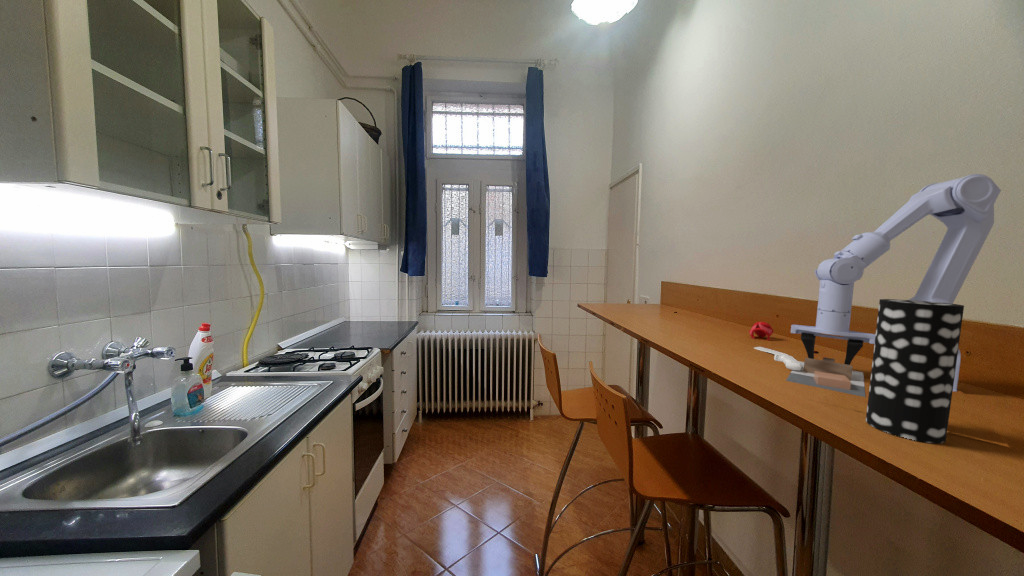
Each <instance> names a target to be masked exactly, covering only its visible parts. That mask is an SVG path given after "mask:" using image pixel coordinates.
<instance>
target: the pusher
mask: <svg viewBox="0 0 1024 576" xmlns="http://www.w3.org/2000/svg"><path fill="white" fill-rule="evenodd" d="M803 362H804V371H803V372H807V373H813V374H814V371H818V372H825V373H831V374H838V375H845V376H846V377H847V378H848V379H849V380H850V381H851V377H852V370H853V364H852V365H851V364H850V365H847V364H844V363H840V362H836V359H835V358H830V357H825V356H824V357H823V358H822V359H816V358H814V359H811V358H808V357H805V358H804V360H803Z"/></svg>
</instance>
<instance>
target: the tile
mask: <svg viewBox="0 0 1024 576" xmlns="http://www.w3.org/2000/svg"><path fill="white" fill-rule="evenodd" d="M814 380H815V381H816V383H817V384H818V385H824V386H830V387H836V388H842V389H848V390H850V386H851V382H850V380H849V379H848V378H847V377H846V376H845V375H838V374H831V373H825V372H818V371H814Z"/></svg>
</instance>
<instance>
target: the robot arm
mask: <svg viewBox="0 0 1024 576" xmlns="http://www.w3.org/2000/svg"><path fill="white" fill-rule="evenodd" d="M1001 191H1002V190H1001V189H1000V187H999V186H998V185H997V184H996V183H995V181H994V180H993V179H992V178H991V177H989V176H988V175H985V174H982V173H973V174H968V175H966V176H963V177H959V178H955V179H950V180H945V181H941V182H935V183H934V182H933V183H930V184H927V185H925V186H923V187H922V188H921V189H920V190H919V192H916V193H914V194H913V195H911V196H910V198H909V200H908V201H907V202H906V203H905V204H904V205H902V206H901V207H900V208H899V209H898V210H897V211H896V212H895V213H894V214H892V215H891V216H890V217H889V218H888V219H887V220H886V221H884V222H883V223H882V224H880V226H879V227H877V228H876V230H874V231H868V232H862V233H861V234H856V235H854V236H853V237H852V238H851V240H852V241H851V242H850V243H849V244H848V245H846V246H845V247H844V248H843V249H841V250H839V251H838V250H837V251H836V252H835V253H833V258H829V259H828V258H827V259H825V260H823V261H822V262H820V264H818V265H817V266H818V268H817V269H814V275H815V277H816V279H818V281H819V287H818V288H819V290H818V299H817V301H818V302H817V308H816V309H817V310H816V319H815V326H813V325H812V326H811V325H800V324H791V325H790V327H791V328H790V333H791V334H795V335H796V334H799V335H800V340H801V342H802V344H803V346H804V348H805V351H806V354H807V358H811V359H815V344H816V337H822V338H829V339H836V340H845V341H847V342H846V343H847V344H846V352H845V358H844V363H843V364H847V365H851V363H852V361H853V360H854V358H855V357H856V355H857V354H858V353H859V351H860V350H861V349H862V348H863V347H864V343H868V344H870V345H871V344H872V345H874V344H875V336H876V333H868V332H861V331H854V330H850V325H851V315H852V308H853V307H852V306H853V296H854V288H855V283H856V282H857V281H859V280H861V279H862V277H863V275H864V270H865V269H866V268H868V266H870V265H871V264H873V263H874V262H876V260H878V259H879V258H880V257H882V256H883V255H884V254H885V253H887V252H888V251H889V250H890V249H891V242H892V240H894V239H896V238H897V237H898V236H899V235H901V234H902V233H903V232H905V231H906V230H908V229H910V228H912V226H914V225H915V224H916V223H918V222H919V221H921V220H923V219H924V218H925V217H926V216H930V215H931V216H932V218H934V219H937V220H938V221H940V222H941V223H943V224H944V225H945V227H946V228H947V230H946V231H945V234H944V236H943V238H942V240H941V242H940V244H939V246H938V248H937V251H936V252H935V255H934V257H933V258H932V260H931V262H930V264H929V266H928V268H927V270H926V273H925V275H924V276H923V279H922V281H920V282H921V283H920V285H919V286H918V288H917V291H916V293H915V295H914V296H912V297H911V298H909V299H908V300H915V301H929V302H940V303H950V304H954V302H955V301H956V299H957V297H958V296H959V293H960V290H961V288H962V286H963V284H964V282H965V280H966V279H967V277H968V275H969V274H970V271H971V269H972V268H973V266H974V263H975V261H976V259H977V258H978V256H979V254H980V252H981V249H982V248H983V246H984V244H985V243H986V240H987V238H988V236H989V234H990V232H991V231H992V228H993V227H994V223H995V203H996V201H997V199H998V197H999V195H1000V193H1001ZM961 356H962V355H961V350H960V348H958V355H957V362H956V369H955V377H954V384H953V391H952V392H955V393H957V392H958V383H959V375H960V369H961V368H960V367H961V358H962V357H961Z"/></svg>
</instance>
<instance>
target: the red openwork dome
mask: <svg viewBox="0 0 1024 576" xmlns="http://www.w3.org/2000/svg"><path fill="white" fill-rule="evenodd" d="M748 333H749V336H750V337H751V338H752V339H753V340H754V339H756V336H758V337H759V338H765V337H767V341H770V340H771V337H770V336H772V335H773V334H774V329H773V327H772V326H771V324H769V323H768V322H766V321H757V322H755V323H754V324H753V325H752V326H751V328H750V329H749V331H748ZM754 334H755V335H756V336H755V335H754Z"/></svg>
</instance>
